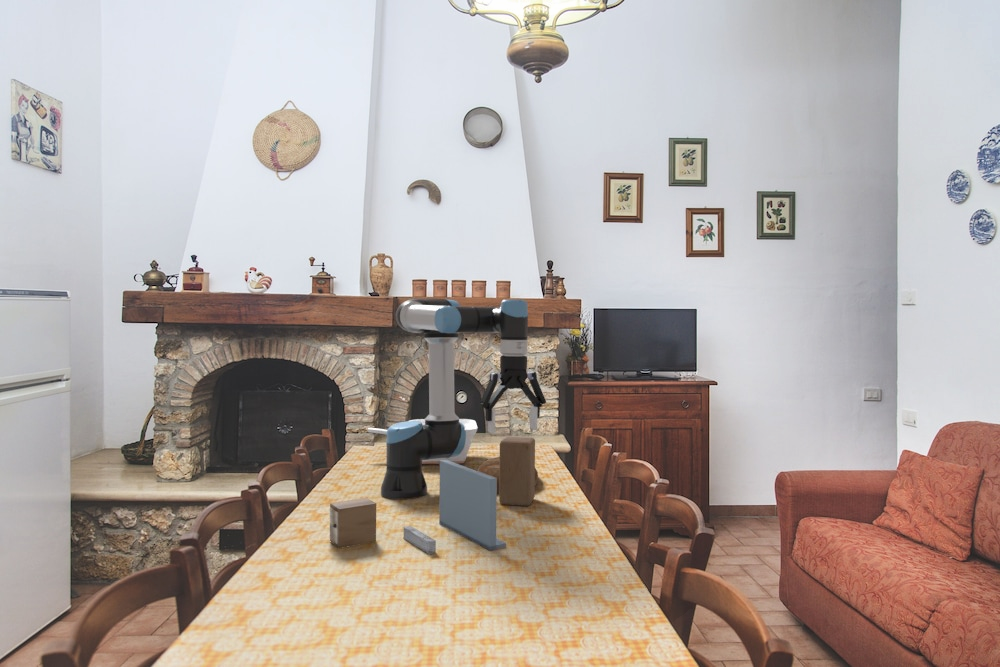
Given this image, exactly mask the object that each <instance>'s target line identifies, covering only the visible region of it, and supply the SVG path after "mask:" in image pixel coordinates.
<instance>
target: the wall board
mask: <svg viewBox="0 0 1000 667" xmlns="http://www.w3.org/2000/svg"><path fill="white" fill-rule="evenodd" d="M497 495H498V493H497V478H495V477H492V476H490V475H487V474H484V473H481V472H479V471H477V470H475V469H473V468H470V467H468V466H464V465H463V464H457V463H454V462H451V461H448V460H440V464H439V498H438V499H439V506H438V507H439V508H438V509H439V511H438V512H439V513H438V515H439V518H438V521H439V522H438V523H439V525H440V526H443V527H445V528H446V529H448V530H450V531H452V532H454V533H455V534H458V535H459V536H462V537H464V539H467V540H469V541H471V542H473V543H475V544H477V545H478V546H480V547H482V548H484V549H486V550H487V551H494V550H499V549H503V548H506V547H507V543H506V542H505V541H502V540H501V539H499V538H497V515H498V514H497V510H498V508H497V502H498V501H497V500H498V498H497Z"/></svg>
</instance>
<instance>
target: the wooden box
mask: <svg viewBox="0 0 1000 667" xmlns="http://www.w3.org/2000/svg"><path fill="white" fill-rule="evenodd" d="M330 541H331V542H332V543H331V542H330ZM375 541H376V542H377V503H376V501H375V502H374V501H373V500H371V499H370V498H368V497H362V498H357V499H348V500H343V501H342V500H341V501H335V502H330V503H329V542H330V543H331V544H333V543H334V544H335V545H336V546H337V547H336V546H335V545H334V544H333V545H334V546H335V547H336V548H337V549H343V548H342V547H345V548H348V547H347V546H350V547H354V546H353V545H355V546H359V544H360V545H364V543H365V544H369V543H375Z"/></svg>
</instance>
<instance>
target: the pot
mask: <svg viewBox="0 0 1000 667" xmlns="http://www.w3.org/2000/svg"><path fill="white" fill-rule="evenodd" d="M409 421H420V422H421V423H422V425H425V418H424V419H423V418H420V419H419V418H417V419H411V420H409ZM459 422H460V423H462V424H463V425H464V427H465V431H466V442H465V446H464V449H463V451H462V452H461V453H460V454H459V455H458V456H455V457H450V458H438V459H429V460H422V465H440V460H448V461H451V462H454V463H457V464H459V465H463V464H464V463H465V461H466V459H467V457H468V456H467V455H468V453H469V450H470V448H471V446H472V442H473V439H474V437H475V434H476V433H477V432H478V428H479V427H478V425H477V422H476V420H474V419H470V418H469V419H468V418H459ZM366 430H367V433H371V434H372V433H374V434H382V435H385V436H387V430H388V429H385V428H384V429H383V428H375V427H374V428H373V427H368V428H367V429H366Z"/></svg>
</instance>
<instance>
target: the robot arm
mask: <svg viewBox="0 0 1000 667" xmlns="http://www.w3.org/2000/svg"><path fill="white" fill-rule="evenodd" d="M528 308H529V307H528V302H527V301H526V300H525V299H502V301H501V302H500V306H461V304H460V303H459V302H458V301H457V300H454V299H447V298H411V299H408V300H406V301H403V302H402V303H401V304H400V305H399V306H398V307H397V309H396V312H395V319H396V323H397V325H398V326H399V327H400V328H401V329H402V330H404V331H406V332H409V333H413V334H424V335H423V339H424V340H425V341H426V342H427V344H428V388H429V389H428V393H429V395H428V398H429V400H428V401H429V402H428V404H429V409H428V410H429V412H428V413H429V414H428V415H427V416H426V417H425V418H424V419H425V425H422V423H421V422H420V421H410V420H407V421H401V422H397V423H394V424H392V425H390V426H389V427H388V428H387V429H386V430H387V435H386V438H385V443H386V467H385V468H386V470H385V471H386V472H385V474H384V478H383V481H382V483H381V486H380V495H381V496H382V497H384V498H386V499H393V500H411V499H416V498H422V497H425V496H426V495H427V494H428V485H427V483H426V479H425V475H424V472H423V468H422V467H423V464H422V460H429V459H438V458H450V457H455V456H458V455H459V454H460V453H461V452H462V451H463V449H464V446H465V442H466V431H465V427H464V425H463V424H462V423H460V422H459V419H460V417H459V416H458V415H457V414H456V412H455V346H454V345H455V343H456V342H457V341H458V339H459V334H467V333H468V334H469V333H470V334H500V348H499V349H500V350H499V352H500V354H501V356H500V357H499V358H500V360H499V368H500V373H495V372H490V374H489V381H488V383H487V384H486V387H485V388H484V389H485V390H484V392H483V393H482V396H481V399H480V401H479V402H478V406H479V407H481V408H483V409H484V410H485V421H486V422H487V433H489V434H491V435H492V434H493V435H495V434H496V409H493V408H494V407H495V406H496V405H497V403H498V402H499V400H500V399H501V398H502V397H503V395H504V394H505V392H507V391H508V390H514V389H517V390H519V389H520V390H522V393H523V394H524V395H525V396H526V397H527V399H528V400H529V401H530V403H531V404H532V405H530V407H529V410H530V412H529V429H530V430H533V431H538V418H540V416H541V415H540V414H541V413H540V412H541V411H540V410H541V407H542V406H543V405H546V403H547V400H546V397H545V395H544V393H543V390H542V388H541V386H540V383H539V381H538V376H537V375H538V374H537V372H536V371H527V370H528V369H527V368H528V356H527V354H528V334H529V333H528V331H529V330H528V329H529V326H528V325H529V324H528V323H529V311H528V310H529V309H528ZM526 380H528V382H529V384H530V386H531V387H532V388H530V387H529V384H528V383H527V382H526ZM499 381H501V382H500V383H499V384H498V385H497V383H498V382H499ZM496 386H497V388H496ZM531 389H532V390H533V391H532V390H531Z"/></svg>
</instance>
